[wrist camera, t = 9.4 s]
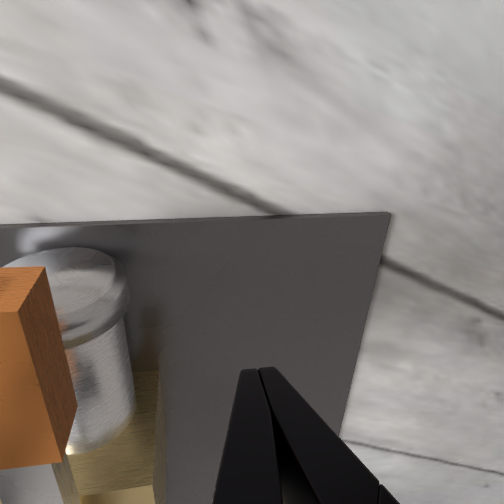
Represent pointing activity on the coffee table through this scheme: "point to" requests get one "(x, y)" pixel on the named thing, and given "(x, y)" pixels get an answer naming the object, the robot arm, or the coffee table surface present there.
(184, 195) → the coffee table surface
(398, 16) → the coffee table surface
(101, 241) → the pipe on metal plate
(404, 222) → the coffee table surface
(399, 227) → the coffee table surface
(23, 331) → the valve lever
